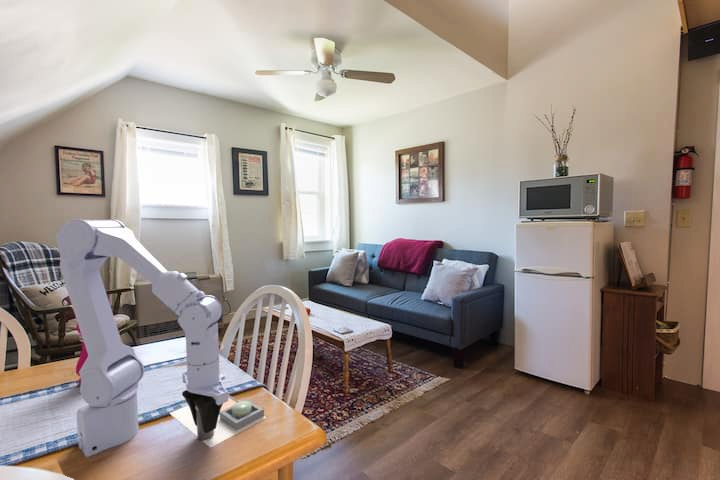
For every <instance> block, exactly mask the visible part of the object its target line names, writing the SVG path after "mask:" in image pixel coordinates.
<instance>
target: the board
mask: <svg viewBox="0 0 720 480" xmlns="http://www.w3.org/2000/svg"><path fill="white" fill-rule="evenodd" d="M243 401H248V402H251V404H252V413H251V414H249V415H247V416H245V417H243V418H240V419H237V418H234V417H233V416H232V406H233V405H234V404H236V403H238V402H241V401H240V400H238V399H237V398H234V397H233V396H231V395H229V394H228V401H227V402H225V403H223V405H222V407H221V410H220V413H219V417H218V421H217V425H216V429H214V435H213V437H211V438H210V439H208V440H203V441H202V442H203V443H204V444H205V445H207V446H208V447H209V448H213V447H215V446H216V445H219V444H220V443H223V442H224V441H226V440H228V439H229V438H232V437H234V436H235V435H238V434H239V433H241V432H243V431H244V430H246V429H248V428H250V427H252V426H253V425H256V424H257V423H259V422H261V421H262V420H265V419H267V417H266V416H265V409H264V408H263V407H261V406H259V405H258V404H256V403H254V402H252V401H251V400H249V399H244V400H243ZM168 414H169V415H171V416H172V417H173V418H174V419H175V420H177V421H178V422H179V423H180V424H181V425H183V427H185V429H187V430H188V431H190V432H191V433H192V434H193V435H195V437H197V426H196V425H195V423H194V420H193V416H192V413H191V410H190V407H189V405H188V404H187V405H186V406H183V407H181V408H178V409H176V410H173V411H171V412H169V413H168Z"/></svg>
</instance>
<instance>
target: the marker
mask: <svg viewBox="0 0 720 480" xmlns="http://www.w3.org/2000/svg"><path fill="white" fill-rule="evenodd" d="M196 415H197V436H196V437H197V440H199V441H201V442H203V440H208V439H210V438H211V437H213V435H214V430H212V431H210V432H208V433H205V432H204V430H203V427H202V421H201V416H200V413H199V410H198V408H197V406H196Z"/></svg>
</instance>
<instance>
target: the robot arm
mask: <svg viewBox="0 0 720 480" xmlns="http://www.w3.org/2000/svg"><path fill="white" fill-rule="evenodd" d="M55 241H56V244H57V248H58V250H59V253H60V259H59V268H60V272H61V276H62V278H63V281H64V285H65V288H66V291H67V293H68V294H67V295H68V298H69V300H70V304H71V307H72V310H73V312H74V315H75V319H76V322H77V323H78V325H79V328H80V331H81V334H82V337H83V340H84V343H85V347H86V350H87V353H88V358H87V359H86V361H85V363H84V364H83V366H82V368H81V369H80V371H79V374H80V376H79V378H81V386H80V388H79V392H80V395H81V398H82V399H83V401H84V402H85V403H86V405H84V406H83V407H82V406H81V407H80V408H78V409H77V410H76V427H77V428H76V429H77V441H78V443H77V444H78V448H79V450H81V451H82V453H83V454H84V456H85V457H86V458H89V457H91V456H93V455H96V454H98V453H100V452H102V451H103V452H104V451H105V450H108V449H111V448H113V447H117V446H119V445H122V444H124V443H127V442H129V441H131V439H133V438H134V437H135V436H137V435H138V433H139V429H140V428H139V411H138V410H139V409H138V408H139V407H138V389H139V382H140V381H141V380H142V379H143V377H144V375H145V366H144V364H143V361H141V359H140V358H139V357H138V356H137V354H136V352H135V349H134V348H133V347H131V346H130V345H127V344H124V343H123V342H122V338H121V336H120V332H119V329H118V326H117V323H116V320H115V316H114V314H113V311H112V307H111V305H110V301H109V298H108V295H107V292H106V288H105V285H104V282H103V279H102V276H101V273H100V269H101V267H102V266H103V264H104V263H105V262H106V261H107V259H109V257H113V258H119V259H120V260H122V262H124V263H125V264H126V265H128V267H130V268H132V269H133V270H134V271H136V272H137V274H139V275H140V276H141V277H143V278H145V279H146V280H147V281H149V282H150V283H151V292H152V294H153V295H155V296H156V297H157V298H158V299H159V300H160V301H161V302H163V304H165V305H166V306H167V307H168V308H169V309H170V310H171V311H173V313H175V314H176V315H177V316H179V317H178V318H177V320H178V325H179V326H180V327H181V329H182V330H183V331H184V335H185V336H184V337H185V346H186V347H185V348H186V349H185V351H186V372H182V376H181V377H182V383H184V384H185V387H186V389H185V390H184V391H182V393H181V395H182V396H183V399H185V401H186V404H187V405H189V407H190V410H191V413H192V416H193V420H194V423H195V425H196V426H197V415H196V406H197V408H198V410H199V413H200V416H201V421H202V427H203V430H204V432H205V433H208V432H210V431H212V430H214V429H216V425H217V421H218V417H219V413H220V410H221V407H222V405H223V403H225V402H227V401H228V395H229V390H227V389H226V388H225V385H224V384H223V380H226V376H225V374H223V373H220V352H219V351H220V350H219V349H220V347H219V346H220V345H219V328H218V327H219V325H218V324H219V323H218V320H219V319H221V317H222V314H223V307H222V304H221V302H220V301H219V300H218V298H217V297H216V296H214V295H210V294H207V295H206V293H205V292H204V291H203V290H199V289H198V288H197V287H196V286H195V285H193V284H192V282H190V281H189V280H188V275H187V274H185V273H184V272H181V273H180V272H179V271H177V270H167V269H166V267H164V266H163V265H162V264H161V262H159V261H158V259H156V258H155V257H154V256H153V255H152V254H151V253H150V251H148V250H147V248H145V246H143V244H142V243H141V242H139V241H138V240H137V239H136V237H135V235H134V232H133V230H131V229H130V228H128V227H126V225H125V224H124V223H123V222H122V221H120V220H119V219H114V218H113V219H112V218H108V219H80V218H74V219H70V220H67V221H66V222H65V223H64V224H63V225H62V226H61V228H60V230H59V231H58V232H57V233H56V235H55ZM81 334H80V335H81ZM94 447H95V448H94ZM93 448H94V449H93Z"/></svg>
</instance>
